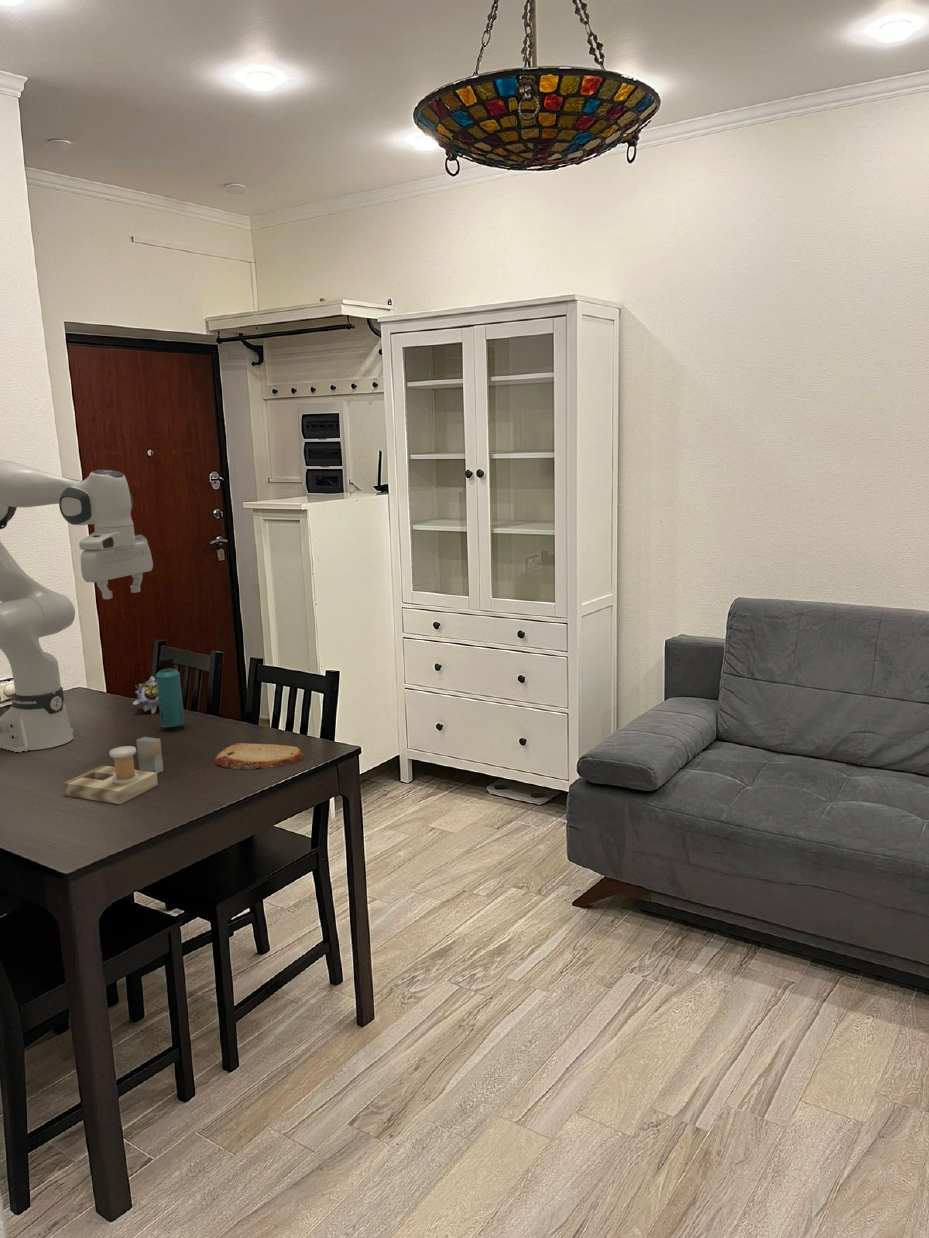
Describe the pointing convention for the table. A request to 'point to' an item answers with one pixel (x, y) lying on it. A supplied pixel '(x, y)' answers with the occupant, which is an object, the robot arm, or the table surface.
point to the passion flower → (147, 695)
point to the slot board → (108, 785)
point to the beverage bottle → (169, 694)
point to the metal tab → (150, 754)
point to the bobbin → (124, 765)
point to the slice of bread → (257, 756)
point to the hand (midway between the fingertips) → (122, 595)
